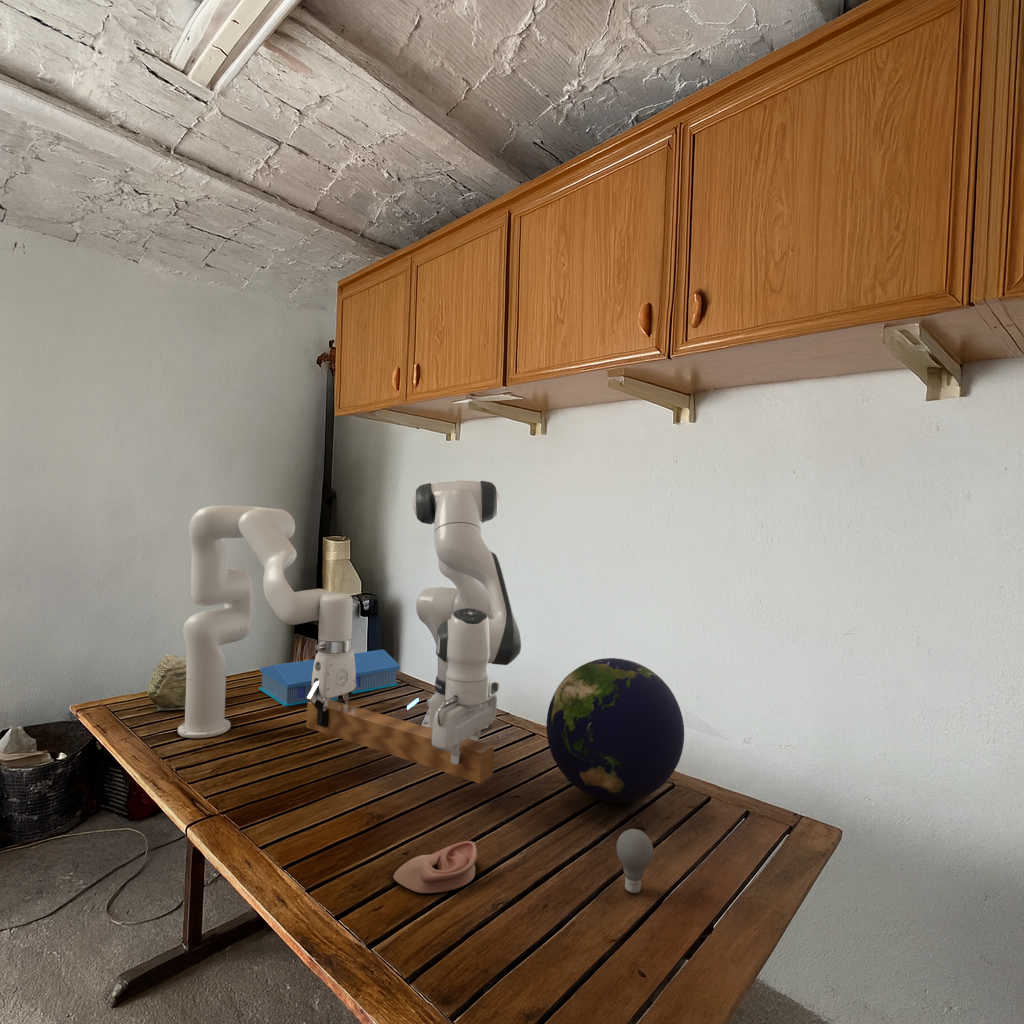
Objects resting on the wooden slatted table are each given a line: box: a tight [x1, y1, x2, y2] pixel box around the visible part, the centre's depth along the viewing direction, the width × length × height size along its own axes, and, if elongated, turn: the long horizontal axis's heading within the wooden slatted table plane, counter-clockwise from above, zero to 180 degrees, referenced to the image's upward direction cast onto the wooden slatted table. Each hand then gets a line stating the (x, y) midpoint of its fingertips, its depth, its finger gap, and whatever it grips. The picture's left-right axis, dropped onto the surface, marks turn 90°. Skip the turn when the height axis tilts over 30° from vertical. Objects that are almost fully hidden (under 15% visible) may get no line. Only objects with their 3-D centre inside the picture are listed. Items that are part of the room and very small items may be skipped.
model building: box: [258, 649, 401, 707], centre depth 208 cm, size 39×24×10 cm, turn 132°
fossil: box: [147, 654, 187, 712], centre depth 185 cm, size 9×18×15 cm, turn 132°
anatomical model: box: [392, 840, 478, 894], centre depth 108 cm, size 13×4×12 cm
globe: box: [545, 657, 685, 803], centre depth 140 cm, size 30×30×30 cm
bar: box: [306, 699, 495, 784], centre depth 140 cm, size 50×5×6 cm, turn 59°
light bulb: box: [615, 828, 654, 894], centre depth 106 cm, size 6×6×10 cm
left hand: (331, 721), depth 150 cm, fingers closed on bar, 4 cm apart
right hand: (464, 757), depth 130 cm, fingers closed on bar, 5 cm apart
